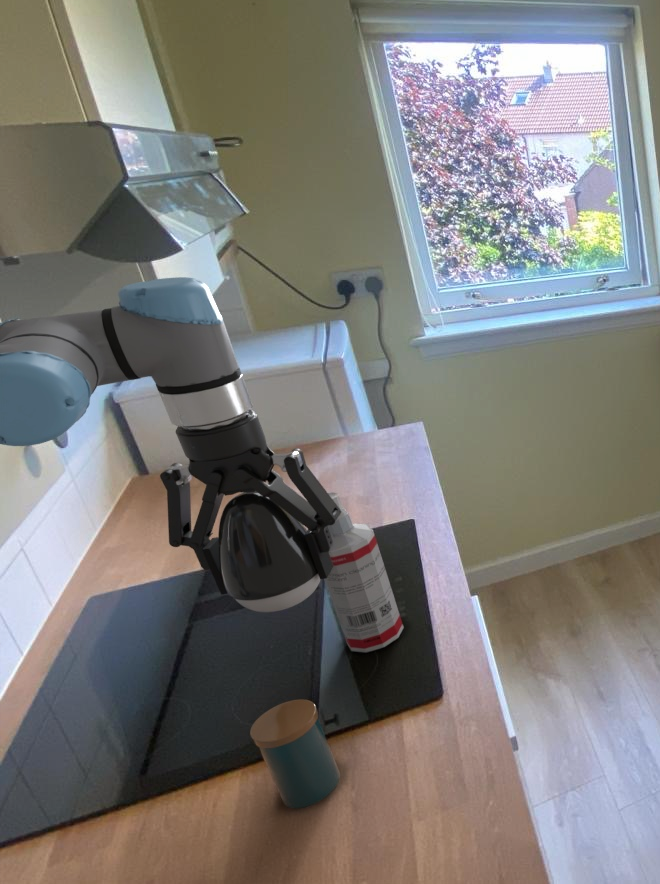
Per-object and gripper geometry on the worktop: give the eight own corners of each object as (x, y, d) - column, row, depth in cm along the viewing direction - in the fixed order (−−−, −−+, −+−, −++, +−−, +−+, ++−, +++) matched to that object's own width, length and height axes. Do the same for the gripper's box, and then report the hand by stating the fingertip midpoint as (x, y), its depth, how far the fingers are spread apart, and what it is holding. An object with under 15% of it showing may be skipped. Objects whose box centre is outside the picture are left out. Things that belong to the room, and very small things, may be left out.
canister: (277, 819, 85) (245, 750, 80) (285, 778, 90) (255, 710, 85) (340, 797, 87) (312, 728, 82) (344, 758, 92) (318, 692, 88)
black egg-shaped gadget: (340, 567, 99) (305, 467, 93) (321, 613, 90) (281, 506, 84) (253, 583, 96) (211, 481, 90) (224, 632, 87) (175, 523, 81)
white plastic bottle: (410, 636, 114) (366, 495, 103) (357, 660, 109) (306, 515, 99) (393, 614, 119) (349, 478, 108) (342, 636, 114) (291, 496, 104)
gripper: (336, 394, 88) (385, 549, 97) (116, 417, 83) (189, 578, 93) (315, 417, 82) (370, 581, 91) (75, 444, 77) (158, 615, 86)
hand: (279, 580), depth 92 cm, fingers closed on black egg-shaped gadget, 10 cm apart
